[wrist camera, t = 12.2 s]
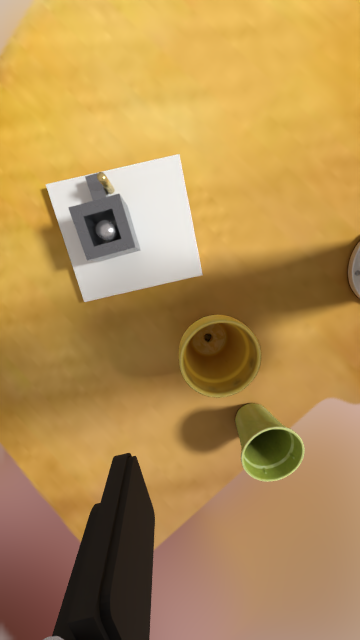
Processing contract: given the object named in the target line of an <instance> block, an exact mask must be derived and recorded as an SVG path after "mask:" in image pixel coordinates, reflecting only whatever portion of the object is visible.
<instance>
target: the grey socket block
mask: <svg viewBox="0 0 360 640" xmlns="http://www.w3.org/2000/svg"><path fill="white" fill-rule="evenodd" d="M97 174H98V173H96V174H92V175H89V176H85V178H86V181H87V184H88V188H89V191H90V194H91V197H92V200H93V201H90V202H86V203H83V204H79V205H76V206H72V207H68V208H69V211H70V214H71V217H72V220H73V223H74V225H75V228H76V231H77V234H78V237H79V239H80V242H81V245H82V248H83V251H84V253H85V256H86V259H87V261H104V260H107V259H111V258H115V257H118V256H122V255H126V254H129V253H133V252H137V251H140V246H139V243H138V240H137V236H136V233H135V229H134V226H133V223H132V219H131V216H130V212H129V209H128V206H127V204H126V203H125V201H124V200H123V198H122V197H121V195H120V194H115V195H112V196H108V193H107V190H106V189H105V188H104V187H103V185H102V184H101V183H100V182H99V180H98V179H97ZM103 220H107V221H109V222H110V221H114V220H116V223H117V226H118V229H119V233H120V236H121V239H120V240H116V241H113V242H109V243H105V244H104V243H103V239H101V238H100V237H99V236H98V235H97V232H96V227H97V224H98V223H99V222H100V221H103Z"/></svg>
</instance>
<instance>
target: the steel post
mask: <svg viewBox="0 0 360 640" xmlns="http://www.w3.org/2000/svg"><path fill="white" fill-rule="evenodd" d="M96 232H97V235H98V236H99V237H100V238H101V239H103V240H106V241H108V242H113V241H116V240H120V239H121V236H120V233H119V229H118V228H117V227H116V226H115V225H114V224H112V223H111V222H109V221H107V220H103V221H100V222H99V223H98V224H97V227H96Z"/></svg>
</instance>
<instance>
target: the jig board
mask: <svg viewBox="0 0 360 640" xmlns="http://www.w3.org/2000/svg"><path fill="white" fill-rule="evenodd" d="M98 173H99V172H98ZM103 173H104V174H105V175H106V177H107V178H108V180H109V181H110V183H111V184H112V185H113V187H114V189H115V191H114V193H113V194H110V193H108V192H107V193H108V196H112V195H115V194H120V195H121V197H122V198H123V200H124V201H125V203H126V204H127V206H128V209H129V212H130V216H131V219H132V223H133V226H134V229H135V233H136V236H137V240H138V243H139V246H140V251H137V252H133V253H129V254H126V255H122V256H118V257H115V258H111V259H107V260H104V261H87V259H86V256H85V253H84V251H83V248H82V245H81V242H80V239H79V237H78V234H77V231H76V228H75V225H74V223H73V220H72V217H71V214H70V211H69V208H68V207H72V206H76V205H79V204H83V203H86V202H90V201H93V200H92V197H91V194H90V191H89V188H88V184H87V181H86V178H85V176H89V175H92V174H89V175H85V176H81V177H76V178H72V179H67V180H63V181H59V182H54V183H50V184H46V187H47V190H48V193H49V196H50V199H51V202H52V205H53V208H54V211H55V215H56V218H57V221H58V224H59V227H60V230H61V233H62V236H63V239H64V242H65V245H66V248H67V251H68V254H69V257H70V260H71V263H72V266H73V269H74V272H75V275H76V278H77V281H78V284H79V287H80V290H81V293H82V297H83V300H84V302H87V301H91V300H96V299H100V298H104V297H109V296H113V295H118V294H122V293H126V292H131V291H135V290H139V289H144V288H148V287H152V286H157V285H161V284H166V283H170V282H174V281H179V280H183V279H187V278H192V277H196V276H200V275H203V274H202V269H201V264H200V259H199V254H198V248H197V243H196V238H195V233H194V228H193V223H192V218H191V212H190V207H189V202H188V197H187V192H186V187H185V181H184V176H183V171H182V166H181V161H180V156H179V154H177V155H173V156H169V157H164V158H160V159H155V160H151V161H147V162H142V163H138V164H133V165H129V166H125V167H120V168H116V169H111V170H107V171H103ZM94 174H96V173H94ZM110 222H111V223H112V224H114V225H115V226H116V227H117V228H118V226H117V223H116V220H114V221H110ZM103 243H104V244H105V243H109V242H108V241H106V240H103Z"/></svg>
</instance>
